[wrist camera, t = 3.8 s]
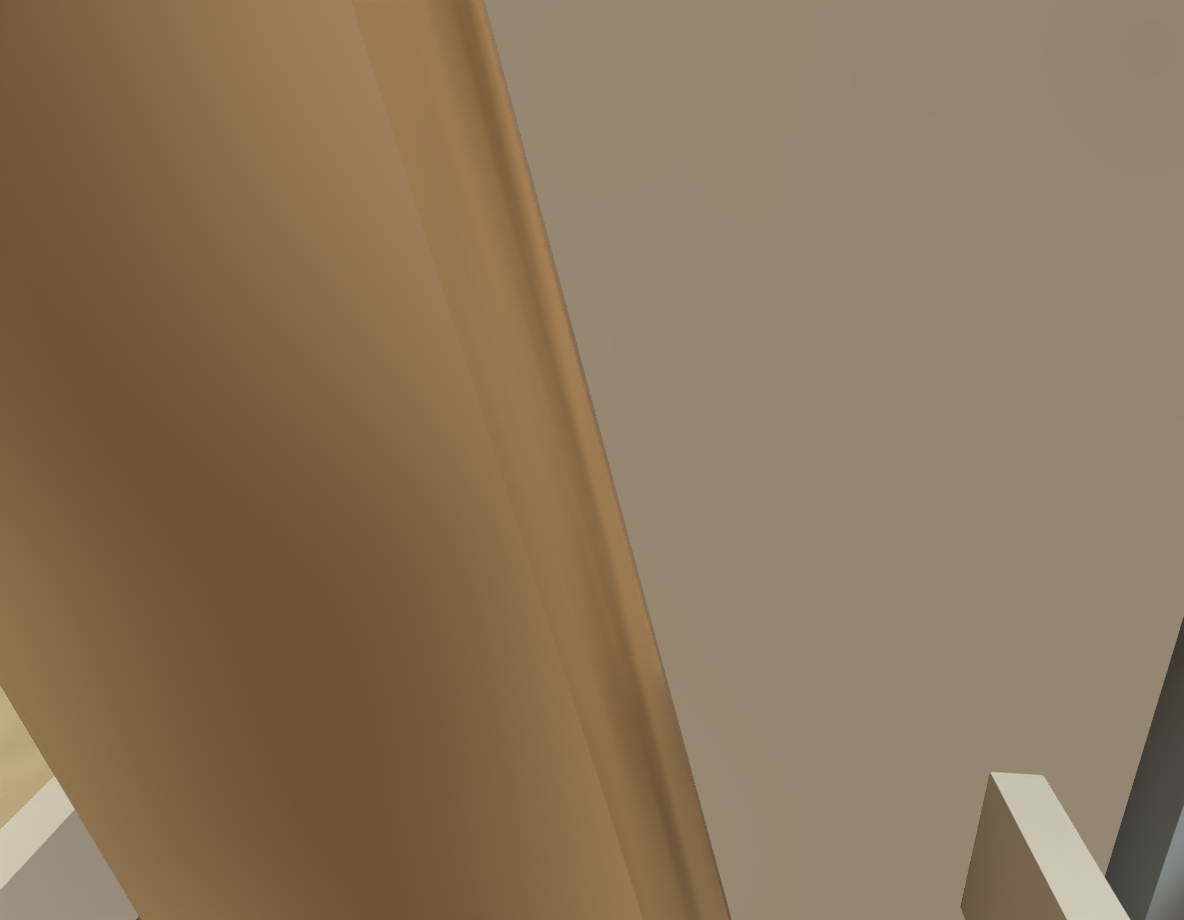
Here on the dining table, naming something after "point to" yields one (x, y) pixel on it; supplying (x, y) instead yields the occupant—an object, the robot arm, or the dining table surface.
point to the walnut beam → (316, 480)
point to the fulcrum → (1156, 813)
